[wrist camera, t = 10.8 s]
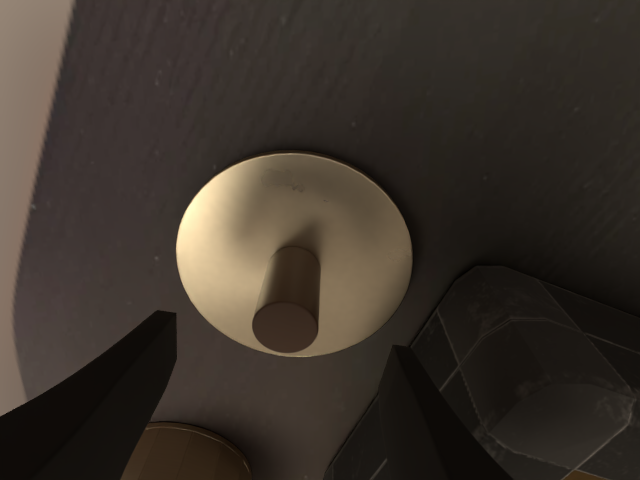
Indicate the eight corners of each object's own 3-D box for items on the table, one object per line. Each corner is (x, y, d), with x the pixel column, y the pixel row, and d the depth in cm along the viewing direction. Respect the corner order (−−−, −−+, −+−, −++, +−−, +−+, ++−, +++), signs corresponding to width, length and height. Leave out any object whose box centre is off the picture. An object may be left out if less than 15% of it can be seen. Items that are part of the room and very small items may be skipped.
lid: (183, 326, 21) (142, 408, 16) (183, 125, 16) (124, 161, 11) (379, 354, 21) (392, 441, 17) (438, 169, 16) (480, 220, 12)
